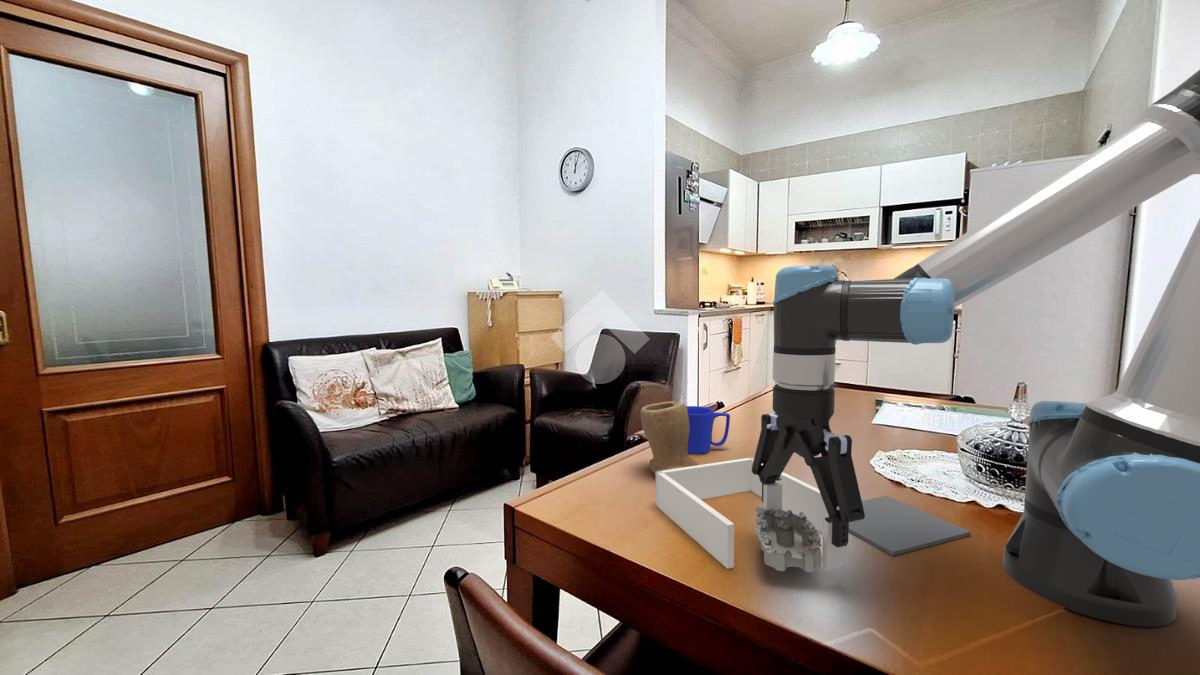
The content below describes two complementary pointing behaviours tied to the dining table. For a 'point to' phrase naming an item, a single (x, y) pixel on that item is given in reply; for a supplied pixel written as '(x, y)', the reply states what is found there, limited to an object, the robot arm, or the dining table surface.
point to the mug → (703, 429)
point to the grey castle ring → (788, 540)
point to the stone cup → (667, 435)
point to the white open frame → (691, 484)
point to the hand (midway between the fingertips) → (800, 546)
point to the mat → (902, 527)
